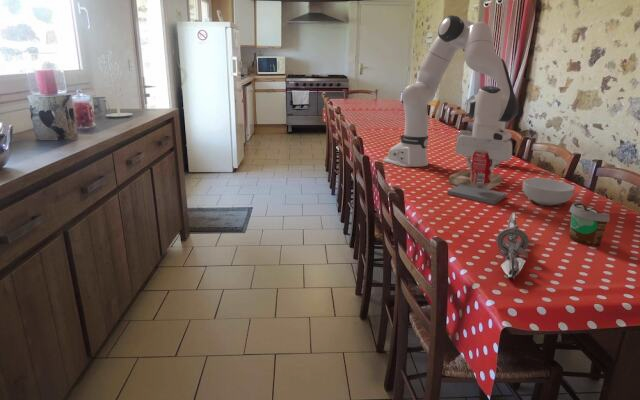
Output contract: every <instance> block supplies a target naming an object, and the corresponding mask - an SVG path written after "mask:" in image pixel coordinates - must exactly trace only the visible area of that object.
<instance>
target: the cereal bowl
mask: <svg viewBox="0 0 640 400" xmlns="http://www.w3.org/2000/svg"><path fill="white" fill-rule="evenodd" d="M522 192H523V193H524V194H525V195H524V196H526V197H527V198H529V199H530V200H532V201H533V202H534V203H536V204H538V205H543V206H557V205H560V204H564V203H567V202H568V201H569V200H571V198H572V197H573V195H574V192H575V186H574V185H572V184H570V183H568V182H564V181H561V180H556V179H552V178H543V177H531V178H526V179H523V182H522Z"/></svg>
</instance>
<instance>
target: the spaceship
mask: <svg viewBox="0 0 640 400" xmlns="http://www.w3.org/2000/svg"><path fill="white" fill-rule="evenodd" d="M518 238H520V239H518ZM505 239H506V240H507V241H506V240H505ZM496 244H497V252H498V253H499V254H501V255H502V256H503V257H505V261H503V263H501V265H500V267H501V268H502V270H503V272H504V273H505V274H506V276H507V277H508V278H510V279H512V278H513V280H515V278H516V277H517V276H518V274H520V273H521V271H522V269H523V267H524V265H525V264H526V260H525V259H524V258H522V257H518V256H517V255H518V254H521V255H522V256H524V257H525V258H527V259H529V257H528V256H529V255H528V252H527V251H526V250H527V249H528V247H529V245H530V239H529V236H528V234H527V233H526V232H525V231H524V230H522V229H521V228H519V225H518V224H517V213H516V212H512V213H511V214H510V216H509V218H508V223H507V228H504V229H502V230H501V231H500V232H499V233H498V235H497V236H496Z"/></svg>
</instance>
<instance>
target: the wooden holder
mask: <svg viewBox="0 0 640 400" xmlns="http://www.w3.org/2000/svg"><path fill="white" fill-rule="evenodd" d="M448 177H449V179H448V184H449V185H453V186H455V187H456V186H458V185H460V184H462V185H467V186H472V187H477V188H482V189H487V190H492V189H494V188H496V187H497V186H499V185H501V183H502V180H503V179H502V178H503V175H502V174H497V173H491V179H490V183H489V184H488V185H486V186H477V185H474V184H472V183H471V181H470V179H471V169H468V168H464V169H462V170H460V171H457V172H455V173H453V174H450V175H449V176H448Z"/></svg>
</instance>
